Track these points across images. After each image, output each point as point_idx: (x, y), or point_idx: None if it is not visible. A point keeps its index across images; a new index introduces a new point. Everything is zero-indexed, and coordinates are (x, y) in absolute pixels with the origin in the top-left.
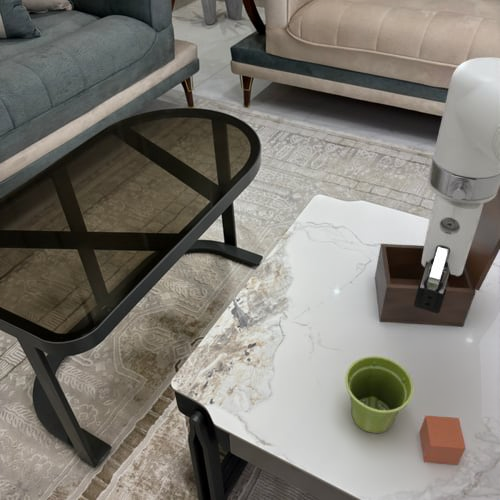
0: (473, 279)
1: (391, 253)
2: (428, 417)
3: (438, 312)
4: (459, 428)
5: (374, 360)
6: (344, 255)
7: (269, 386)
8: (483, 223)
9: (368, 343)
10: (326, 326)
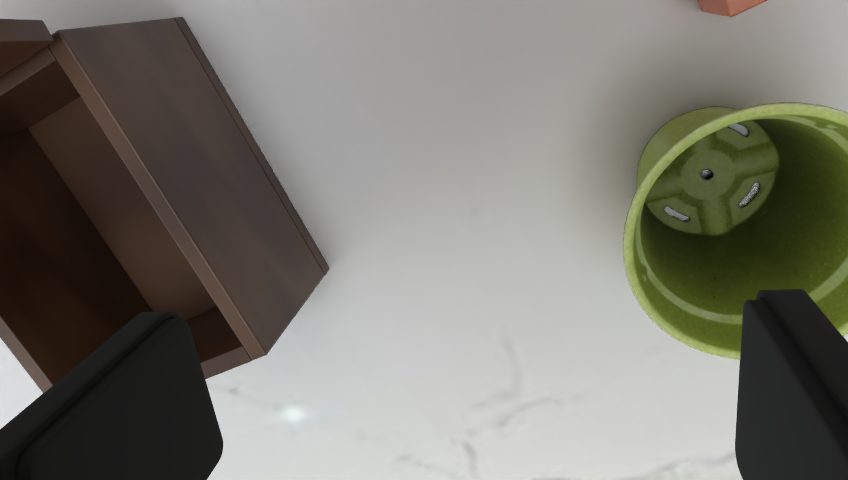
0: (5, 63)
1: None
2: (737, 3)
3: (797, 292)
4: None
5: (643, 284)
6: None
7: (732, 456)
8: None
9: (433, 270)
10: (439, 396)
